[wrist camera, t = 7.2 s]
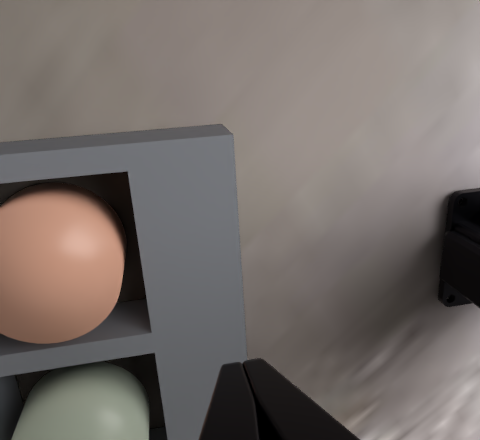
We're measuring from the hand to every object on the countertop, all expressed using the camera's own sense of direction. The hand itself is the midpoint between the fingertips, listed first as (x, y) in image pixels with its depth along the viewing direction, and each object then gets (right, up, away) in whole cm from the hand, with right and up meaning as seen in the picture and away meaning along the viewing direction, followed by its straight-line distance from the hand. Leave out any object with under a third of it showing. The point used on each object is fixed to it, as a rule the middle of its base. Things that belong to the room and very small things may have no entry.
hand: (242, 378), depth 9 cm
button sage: (-7, -6, +12) cm, 15 cm away
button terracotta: (-8, +2, +10) cm, 13 cm away
